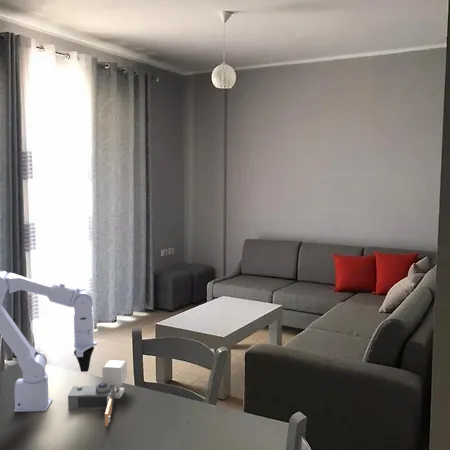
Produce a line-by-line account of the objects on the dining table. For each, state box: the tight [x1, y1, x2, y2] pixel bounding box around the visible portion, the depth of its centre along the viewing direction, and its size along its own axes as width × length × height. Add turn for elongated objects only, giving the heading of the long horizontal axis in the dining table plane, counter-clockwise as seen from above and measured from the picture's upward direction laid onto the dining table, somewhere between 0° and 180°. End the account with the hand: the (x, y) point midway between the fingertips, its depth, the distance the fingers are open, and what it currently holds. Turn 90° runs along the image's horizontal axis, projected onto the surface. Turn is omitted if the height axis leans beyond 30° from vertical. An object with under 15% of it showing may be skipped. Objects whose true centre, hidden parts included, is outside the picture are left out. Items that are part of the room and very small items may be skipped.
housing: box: [67, 382, 116, 411], centre depth 163 cm, size 13×7×6 cm, turn 93°
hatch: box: [104, 396, 113, 427], centre depth 155 cm, size 11×2×4 cm, turn 5°
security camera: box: [101, 359, 128, 399], centre depth 171 cm, size 6×7×10 cm
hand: (84, 370), depth 165 cm, fingers closed
